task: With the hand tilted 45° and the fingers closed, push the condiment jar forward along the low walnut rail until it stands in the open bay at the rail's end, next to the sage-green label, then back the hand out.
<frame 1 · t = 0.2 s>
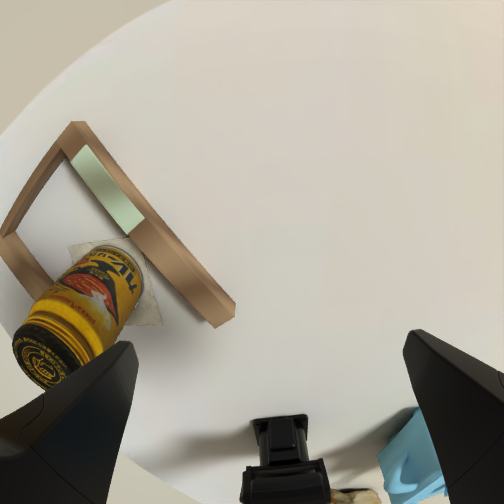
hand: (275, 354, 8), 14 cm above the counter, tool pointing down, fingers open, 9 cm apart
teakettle: (429, 419, 34), on the counter
condiment: (115, 284, 24), on the counter
rail bay: (67, 230, 21), on the counter
rough brown rock: (331, 496, 46), on the counter
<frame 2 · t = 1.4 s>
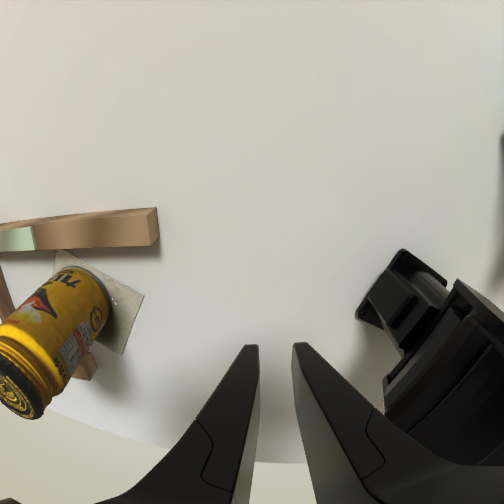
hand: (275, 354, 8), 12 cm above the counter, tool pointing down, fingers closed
condiment: (90, 301, 22), on the counter
rail bay: (38, 300, 22), on the counter
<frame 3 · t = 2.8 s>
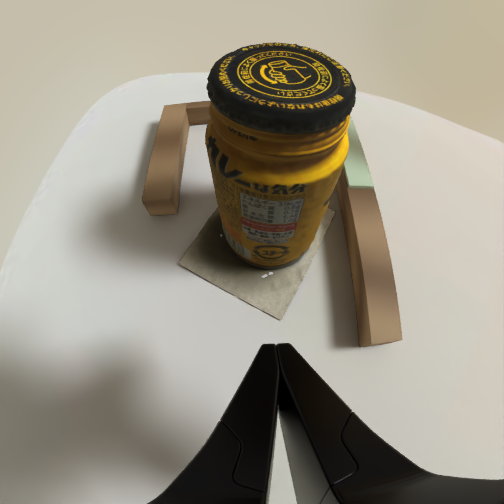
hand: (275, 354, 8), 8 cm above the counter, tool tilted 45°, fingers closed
condiment: (261, 238, 19), on the counter
rail bay: (257, 160, 22), on the counter
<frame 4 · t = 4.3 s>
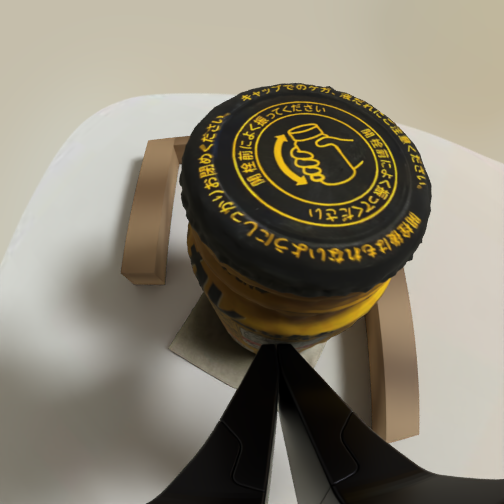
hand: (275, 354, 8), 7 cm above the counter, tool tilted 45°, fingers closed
condiment: (265, 317, 16), on the counter, touching gripper
rail bay: (260, 214, 18), on the counter
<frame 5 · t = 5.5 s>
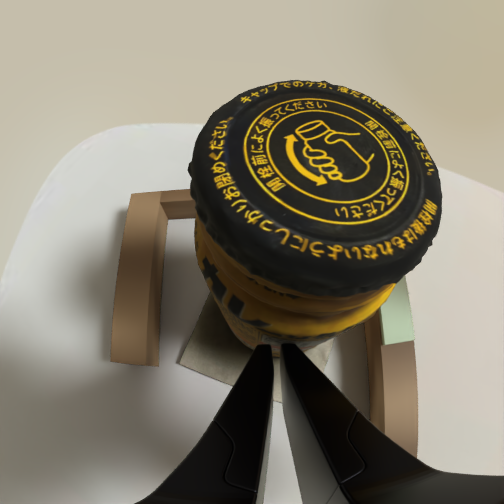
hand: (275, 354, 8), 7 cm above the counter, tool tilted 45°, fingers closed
condiment: (271, 318, 16), on the counter, touching gripper
rail bay: (261, 286, 16), on the counter
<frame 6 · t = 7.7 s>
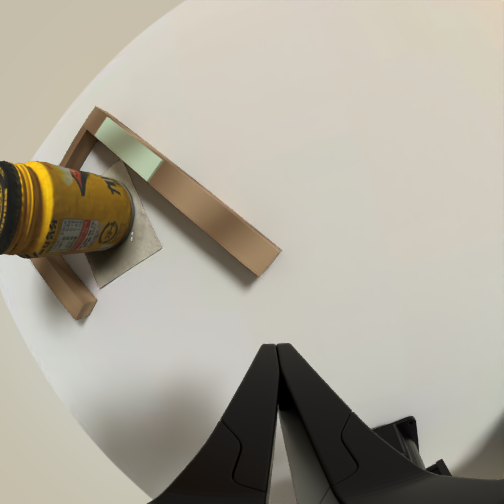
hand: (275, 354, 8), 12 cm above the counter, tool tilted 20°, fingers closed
condiment: (111, 223, 22), on the counter
rail bay: (94, 216, 22), on the counter
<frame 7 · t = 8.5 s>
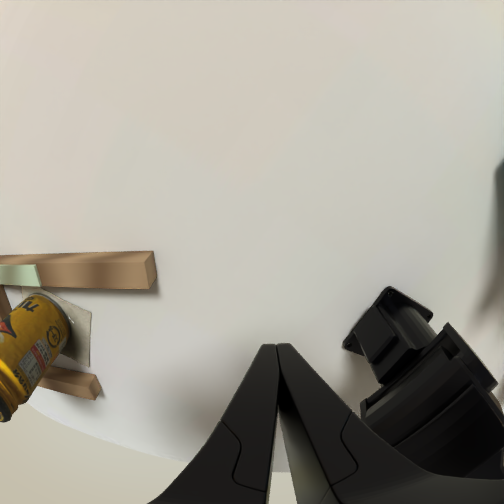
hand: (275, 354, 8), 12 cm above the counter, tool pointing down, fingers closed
condiment: (55, 322, 23), on the counter
rail bay: (43, 326, 23), on the counter
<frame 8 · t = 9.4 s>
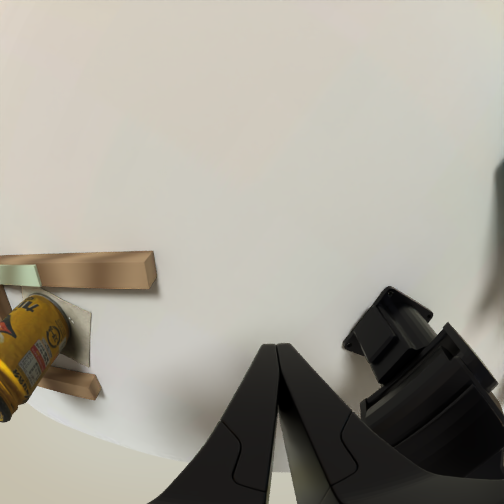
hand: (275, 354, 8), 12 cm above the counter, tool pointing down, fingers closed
condiment: (55, 322, 23), on the counter
rail bay: (43, 326, 23), on the counter
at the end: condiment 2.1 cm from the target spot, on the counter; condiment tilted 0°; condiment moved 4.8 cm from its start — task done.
